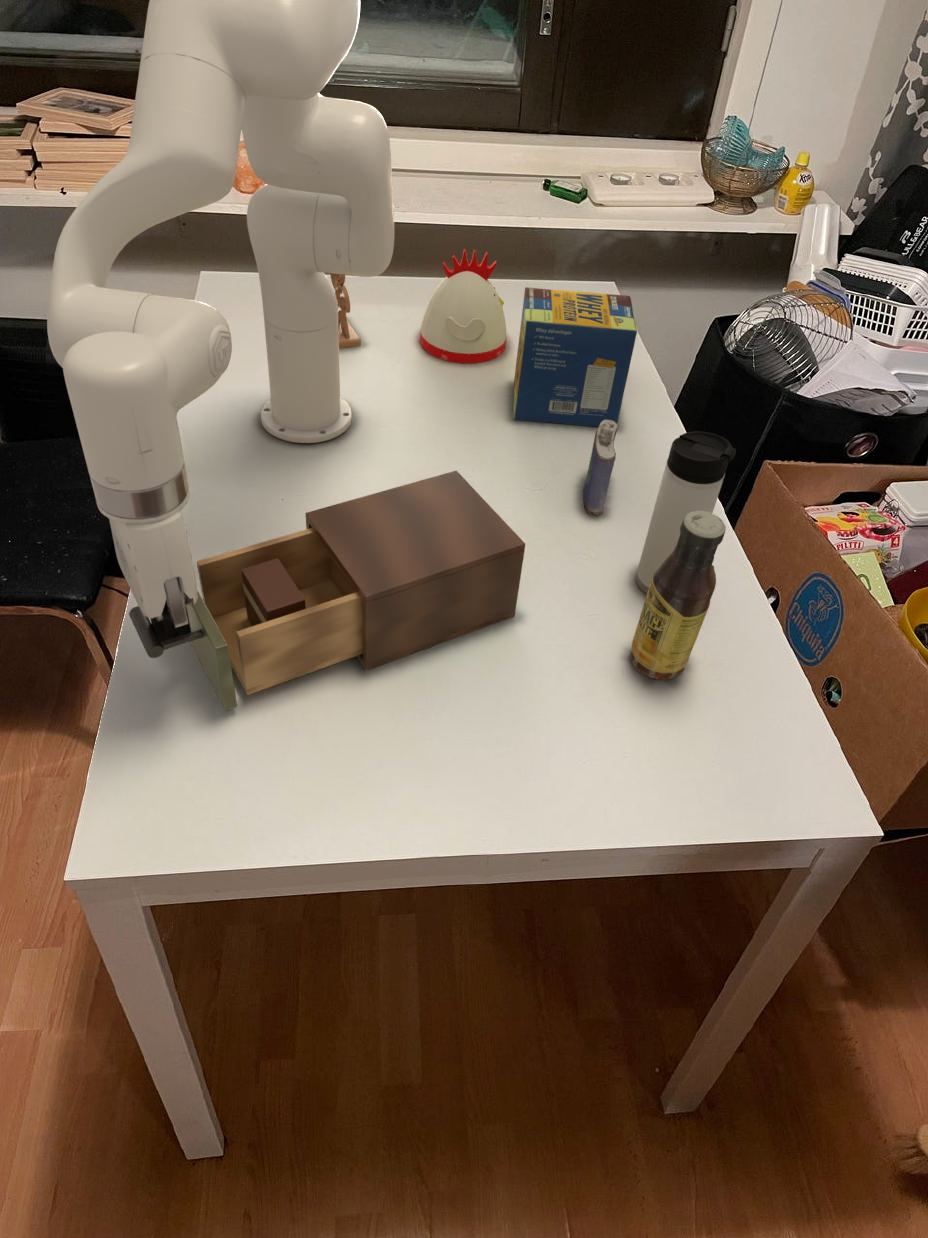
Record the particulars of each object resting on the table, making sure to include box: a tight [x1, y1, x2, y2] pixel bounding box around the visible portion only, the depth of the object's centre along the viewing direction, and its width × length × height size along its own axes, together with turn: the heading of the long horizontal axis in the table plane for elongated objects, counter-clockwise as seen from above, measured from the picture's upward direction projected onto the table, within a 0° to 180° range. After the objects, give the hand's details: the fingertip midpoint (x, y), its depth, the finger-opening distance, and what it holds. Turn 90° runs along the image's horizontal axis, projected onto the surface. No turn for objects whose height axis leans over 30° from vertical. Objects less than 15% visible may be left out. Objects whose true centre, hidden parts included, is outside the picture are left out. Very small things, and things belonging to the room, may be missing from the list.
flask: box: [582, 420, 619, 516], centre depth 118 cm, size 9×3×11 cm, turn 172°
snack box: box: [241, 558, 306, 626], centre depth 94 cm, size 4×7×7 cm, turn 31°
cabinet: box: [305, 470, 526, 671], centre depth 101 cm, size 19×15×11 cm
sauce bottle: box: [630, 511, 726, 681], centre depth 93 cm, size 6×6×20 cm
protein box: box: [512, 287, 638, 428], centre depth 132 cm, size 10×15×16 cm
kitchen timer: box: [419, 248, 507, 364], centre depth 144 cm, size 14×14×15 cm
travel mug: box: [635, 431, 737, 595], centre depth 103 cm, size 6×7×20 cm
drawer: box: [128, 528, 363, 711], centre depth 94 cm, size 23×13×9 cm, turn 121°
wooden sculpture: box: [329, 273, 362, 349], centre depth 144 cm, size 9×4×12 cm, turn 25°
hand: (173, 637), depth 89 cm, fingers closed
